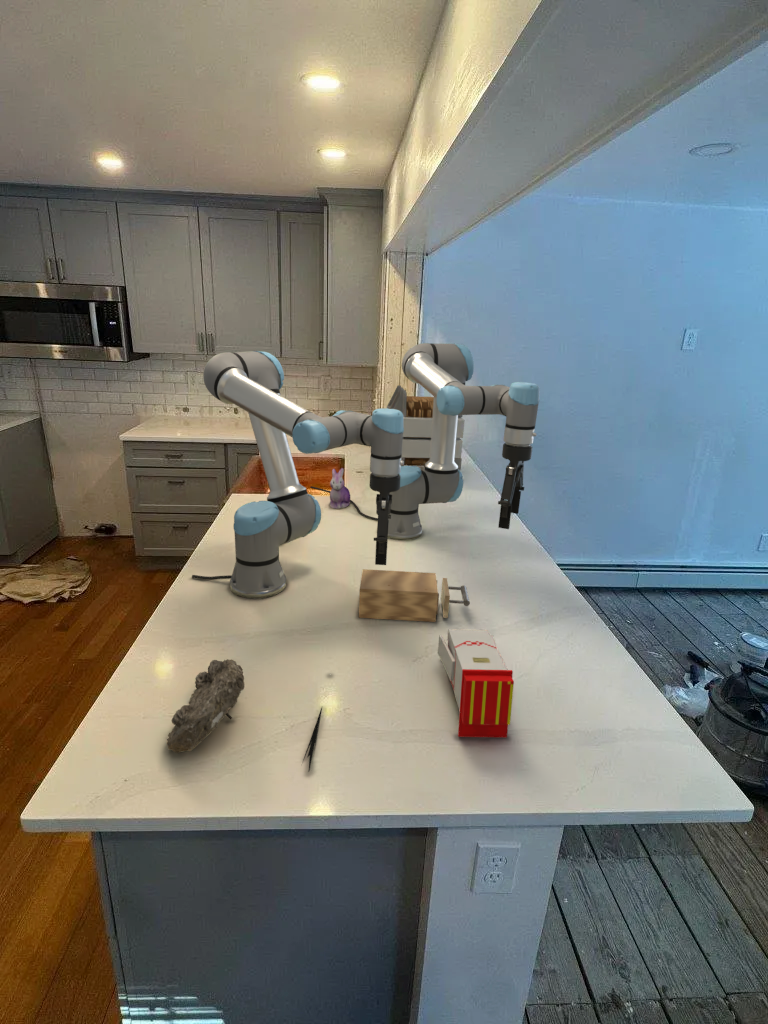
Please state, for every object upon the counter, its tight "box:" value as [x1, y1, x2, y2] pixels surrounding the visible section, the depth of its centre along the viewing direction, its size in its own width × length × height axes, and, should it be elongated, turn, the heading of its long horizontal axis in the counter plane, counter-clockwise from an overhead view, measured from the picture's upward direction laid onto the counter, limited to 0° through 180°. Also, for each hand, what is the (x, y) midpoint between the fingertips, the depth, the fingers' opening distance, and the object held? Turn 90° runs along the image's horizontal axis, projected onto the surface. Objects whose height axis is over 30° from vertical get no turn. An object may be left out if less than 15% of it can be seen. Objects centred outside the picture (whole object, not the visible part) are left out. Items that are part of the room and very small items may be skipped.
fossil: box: [166, 658, 245, 754], centre depth 106 cm, size 22×10×15 cm
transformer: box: [386, 384, 465, 472], centre depth 268 cm, size 34×33×41 cm
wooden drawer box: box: [358, 568, 439, 623], centre depth 149 cm, size 20×11×8 cm, turn 88°
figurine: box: [329, 467, 351, 509], centre depth 223 cm, size 9×10×15 cm
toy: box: [437, 628, 515, 738], centre depth 117 cm, size 12×13×30 cm
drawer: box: [436, 577, 471, 619], centre depth 148 cm, size 24×10×6 cm, turn 88°
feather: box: [301, 673, 332, 771], centre depth 108 cm, size 2×28×2 cm
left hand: (381, 553), depth 146 cm, fingers open, 13 cm apart
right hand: (508, 520), depth 155 cm, fingers open, 13 cm apart
